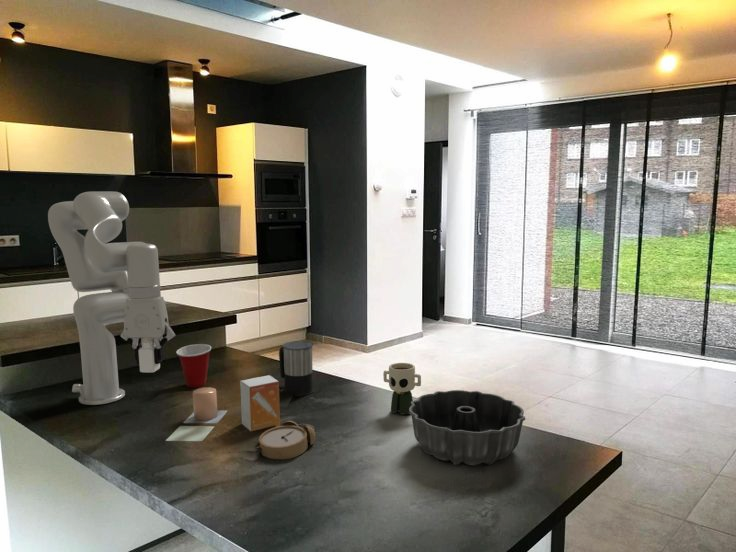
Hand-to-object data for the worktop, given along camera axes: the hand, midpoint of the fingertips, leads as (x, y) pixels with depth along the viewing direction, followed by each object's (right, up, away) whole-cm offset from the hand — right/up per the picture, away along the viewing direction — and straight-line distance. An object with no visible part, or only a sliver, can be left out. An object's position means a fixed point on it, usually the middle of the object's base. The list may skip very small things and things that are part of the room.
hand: (149, 361), depth 150 cm
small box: (+29, -17, -1) cm, 34 cm away
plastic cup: (+1, -13, +36) cm, 38 cm away
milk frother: (+31, -14, +26) cm, 43 cm away
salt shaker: (0, -3, 0) cm, 3 cm away
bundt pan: (+79, -19, -14) cm, 83 cm away
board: (+13, -17, -1) cm, 22 cm away
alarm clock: (+37, -19, -11) cm, 43 cm away
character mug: (+66, -15, +10) cm, 68 cm away
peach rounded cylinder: (+13, -15, +4) cm, 21 cm away
